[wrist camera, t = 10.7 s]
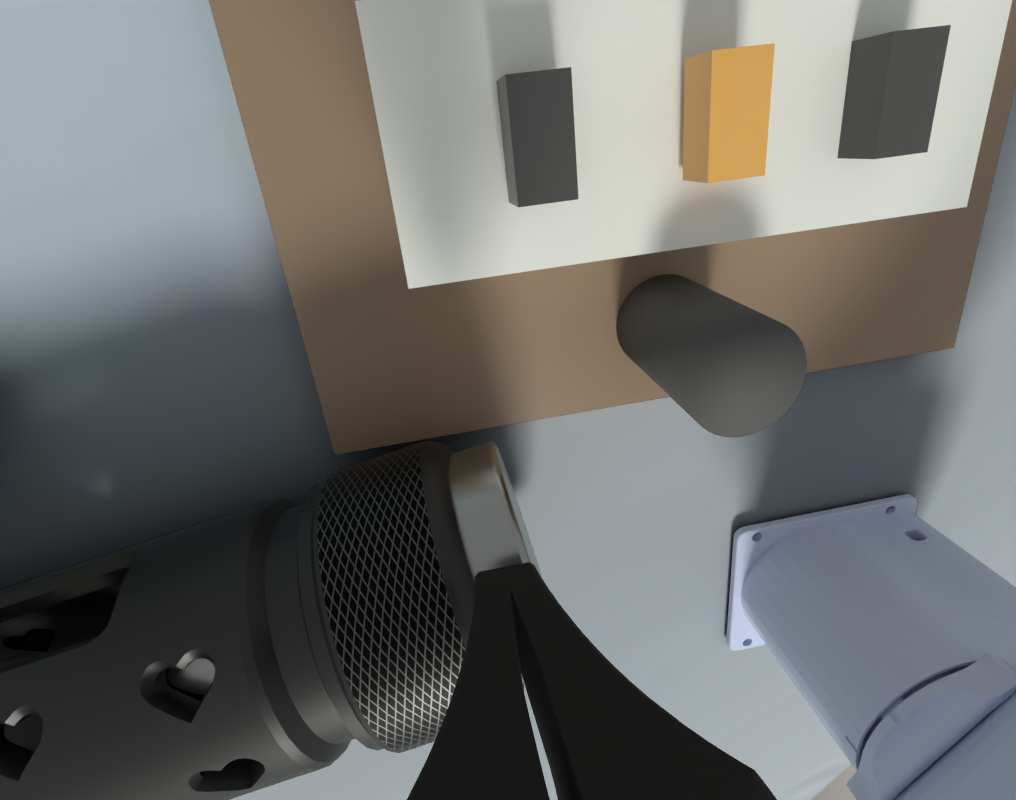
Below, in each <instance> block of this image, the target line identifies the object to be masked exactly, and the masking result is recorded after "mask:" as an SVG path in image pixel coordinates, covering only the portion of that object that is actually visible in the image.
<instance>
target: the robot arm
mask: <svg viewBox="0 0 1016 800" xmlns="http://www.w3.org/2000/svg"><path fill="white" fill-rule="evenodd" d="M917 502H918V501H917V499H916V498H914V497H913V496H911V495H909V494H904V495H899V496H894V497H889V498H884V499H879V500H874V501H869V502H864V503H859V504H854V505H849V506H844V507H839V508H834V509H829V510H824V511H819V512H814V513H809V514H804V515H799V516H794V517H789V518H784V519H779V520H774V521H769V522H764V523H759V524H754V525H749V526H744V527H741V528H739V529H738V530H737V531H736V532H735V534H734V540H733V554H732V568H731V582H730V596H729V610H728V624H727V638H726V643H727V645H728V646H729V648H730V649H731V650H733V651H738V650H743V649H747V648H752V647H756V646H761V645H765V644H766V646H767V647H768V648H769V650H770V651H771V653H772V654H773V655H774V657H775V658H776V660H777V661H778V662H779V664H780V665H781V667H782V668H783V669H784V671H785V672H786V674H787V675H788V676H789V678H790V679H791V680H792V682H793V683H794V685H795V686H796V687H797V689H798V690H799V692H800V693H801V694H802V696H803V697H804V699H805V700H806V701H807V703H808V704H809V706H810V707H811V708H812V710H813V711H814V712H815V714H816V715H817V717H818V718H819V719H820V721H821V722H822V724H823V725H824V726H825V728H826V729H827V731H828V732H829V733H830V735H831V736H832V738H833V739H834V740H835V742H836V743H837V744H838V746H839V747H840V749H841V750H842V751H843V753H844V754H845V756H846V757H847V758H848V760H849V761H850V763H851V764H852V765H853V767H854V768H855V770H856V773H855V774H854V775H853V777H852V778H851V779H850V780H849V781H848V782H847V786H848V788H849V789H850V791H851V792H852V794H853V795H854V797H855V798H856V799H857V800H1016V587H1015V586H1013V585H1012V584H1010V583H1009V582H1008V581H1006V580H1005V579H1004V578H1002V577H1001V576H999V575H998V574H997V573H995V572H994V571H993V570H991V569H990V568H988V567H987V566H986V565H984V564H983V563H981V562H980V561H979V560H977V559H976V558H975V557H973V556H972V555H970V554H969V553H968V552H966V551H965V550H964V549H962V548H961V547H959V546H958V545H957V544H955V543H954V542H952V541H951V540H950V539H948V538H947V537H946V536H944V535H943V534H941V533H940V532H939V531H937V530H936V529H935V528H933V527H932V526H930V525H929V524H928V523H926V522H925V521H924V520H922V519H921V518H919V517H918V516H917V515H915V513H916V509H917ZM756 533H757V534H756ZM754 534H756V535H755V536H753V535H754ZM521 673H522V675H521ZM522 677H523V680H524V683H525V687H526V690H527V693H528V697H529V700H530V703H531V707H532V710H533V713H534V716H535V720H536V723H537V726H538V729H539V733H540V736H541V739H542V743H543V746H544V749H545V752H546V756H547V759H548V762H549V765H550V769H551V773H552V777H553V780H554V784H555V788H556V793H557V797H558V800H777V799H776V798H775V796H774V795H773V794H772V792H771V791H770V789H769V788H768V787H767V786H766V784H765V783H764V782H763V780H762V779H761V778H760V776H759V775H758V774H757V773H756V772H755V770H753V769H752V768H750V767H748V766H746V765H745V764H743V763H741V762H740V761H738V760H736V759H735V758H733V757H731V756H730V755H728V754H727V753H725V752H724V751H722V750H720V749H719V748H717V747H716V746H714V745H713V744H711V743H710V742H708V741H707V740H705V739H704V738H702V737H701V736H699V735H698V734H696V733H695V732H694V731H692V730H691V729H689V728H688V727H686V726H685V725H684V724H682V723H681V722H680V721H678V720H677V719H676V718H675V717H673V716H672V715H671V714H669V713H668V712H667V711H665V710H664V709H663V708H662V707H660V706H659V705H658V704H656V703H655V702H654V701H653V700H651V699H650V698H649V697H648V696H646V695H645V694H644V693H643V692H642V691H641V690H640V689H638V688H637V687H636V686H635V685H634V684H633V683H631V682H630V681H629V680H628V679H627V678H626V677H625V676H624V675H623V674H622V673H621V672H620V671H619V670H617V669H616V668H615V667H614V666H613V665H612V664H611V663H610V662H609V661H608V660H607V659H606V658H605V657H604V656H603V655H602V654H601V653H600V651H599V650H598V649H597V648H596V647H595V646H594V645H593V644H592V643H591V642H590V641H589V640H588V638H587V637H586V636H585V635H584V634H583V633H582V632H581V630H580V629H579V628H578V627H577V626H576V624H575V623H574V622H573V621H572V619H571V618H570V617H569V616H568V614H567V613H566V612H565V611H564V610H563V608H562V607H561V606H560V604H559V603H558V602H557V600H556V599H555V597H554V596H553V594H552V593H551V592H550V590H549V589H548V587H547V586H546V584H545V583H544V581H543V579H542V578H541V576H540V574H539V573H538V571H537V569H536V567H535V565H534V564H532V563H530V562H527V563H522V564H517V565H511V566H506V567H501V568H496V569H491V570H485V571H480V572H478V573H477V575H476V576H475V601H474V609H473V616H472V622H471V627H470V632H469V637H468V642H467V646H466V651H465V654H464V658H463V662H462V665H461V669H460V672H459V676H458V680H457V683H456V686H455V689H454V692H453V695H452V698H451V701H450V704H449V707H448V709H447V712H446V715H445V718H444V720H443V723H442V725H441V728H440V730H439V732H438V735H437V737H436V740H435V742H434V745H433V747H432V749H431V751H430V754H429V756H428V758H427V760H426V763H425V765H424V767H423V769H422V771H421V773H420V775H419V777H418V779H417V781H416V783H415V785H414V787H413V789H412V791H411V793H410V795H409V797H408V799H407V800H549V796H548V792H547V788H546V784H545V780H544V776H543V772H542V768H541V763H540V759H539V755H538V751H537V747H536V743H535V739H534V734H533V730H532V726H531V722H530V717H529V713H528V709H527V704H526V700H525V696H524V691H523V684H522Z"/></svg>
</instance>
